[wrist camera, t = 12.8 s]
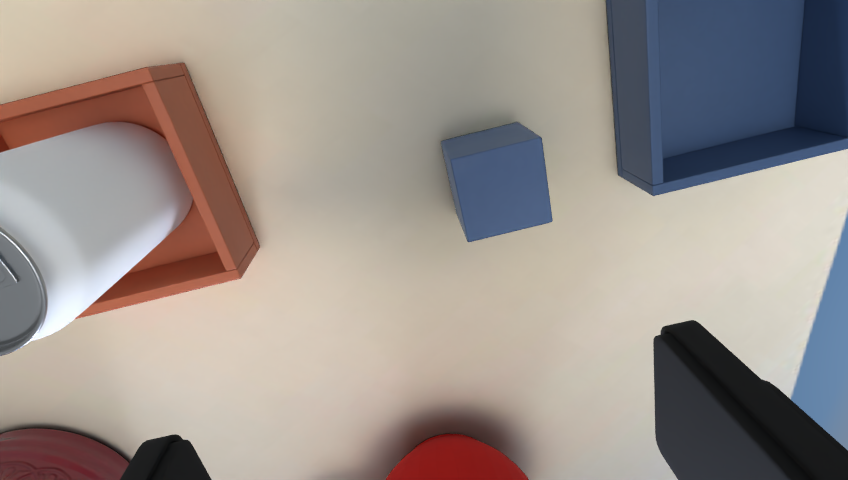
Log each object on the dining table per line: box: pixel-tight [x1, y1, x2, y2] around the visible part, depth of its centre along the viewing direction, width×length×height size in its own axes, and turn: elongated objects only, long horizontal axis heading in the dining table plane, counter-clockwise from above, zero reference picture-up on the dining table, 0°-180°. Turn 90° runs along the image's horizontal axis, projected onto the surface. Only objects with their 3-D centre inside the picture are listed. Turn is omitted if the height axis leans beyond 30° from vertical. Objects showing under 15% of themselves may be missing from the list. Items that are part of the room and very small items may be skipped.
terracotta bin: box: [0, 63, 260, 319], centre depth 25 cm, size 11×11×4 cm
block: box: [441, 122, 552, 242], centre depth 26 cm, size 4×4×4 cm
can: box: [0, 122, 193, 356], centre depth 20 cm, size 6×6×12 cm
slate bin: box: [606, 0, 848, 196], centre depth 24 cm, size 11×11×4 cm
